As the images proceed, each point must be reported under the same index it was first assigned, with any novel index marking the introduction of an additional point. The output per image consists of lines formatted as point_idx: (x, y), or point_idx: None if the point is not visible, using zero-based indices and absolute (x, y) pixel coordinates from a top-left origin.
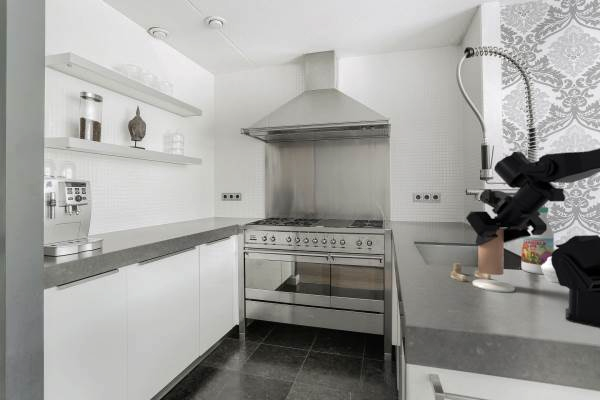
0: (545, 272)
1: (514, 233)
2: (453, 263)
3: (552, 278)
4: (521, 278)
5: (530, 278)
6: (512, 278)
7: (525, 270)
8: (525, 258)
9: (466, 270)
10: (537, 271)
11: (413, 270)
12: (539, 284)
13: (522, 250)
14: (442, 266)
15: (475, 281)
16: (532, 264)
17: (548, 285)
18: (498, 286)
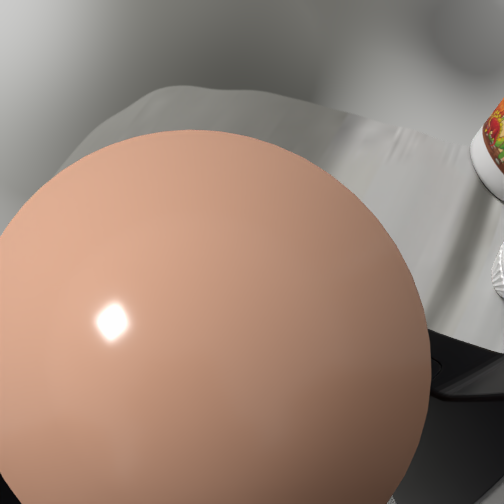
0: (500, 271)
1: (414, 491)
2: None
3: (501, 290)
4: (430, 247)
5: (457, 246)
6: (400, 249)
7: (474, 165)
8: (494, 142)
9: (277, 141)
10: (497, 192)
11: (74, 161)
12: (447, 325)
13: (501, 111)
14: (213, 98)
15: None
16: (499, 171)
17: (466, 334)
18: None
